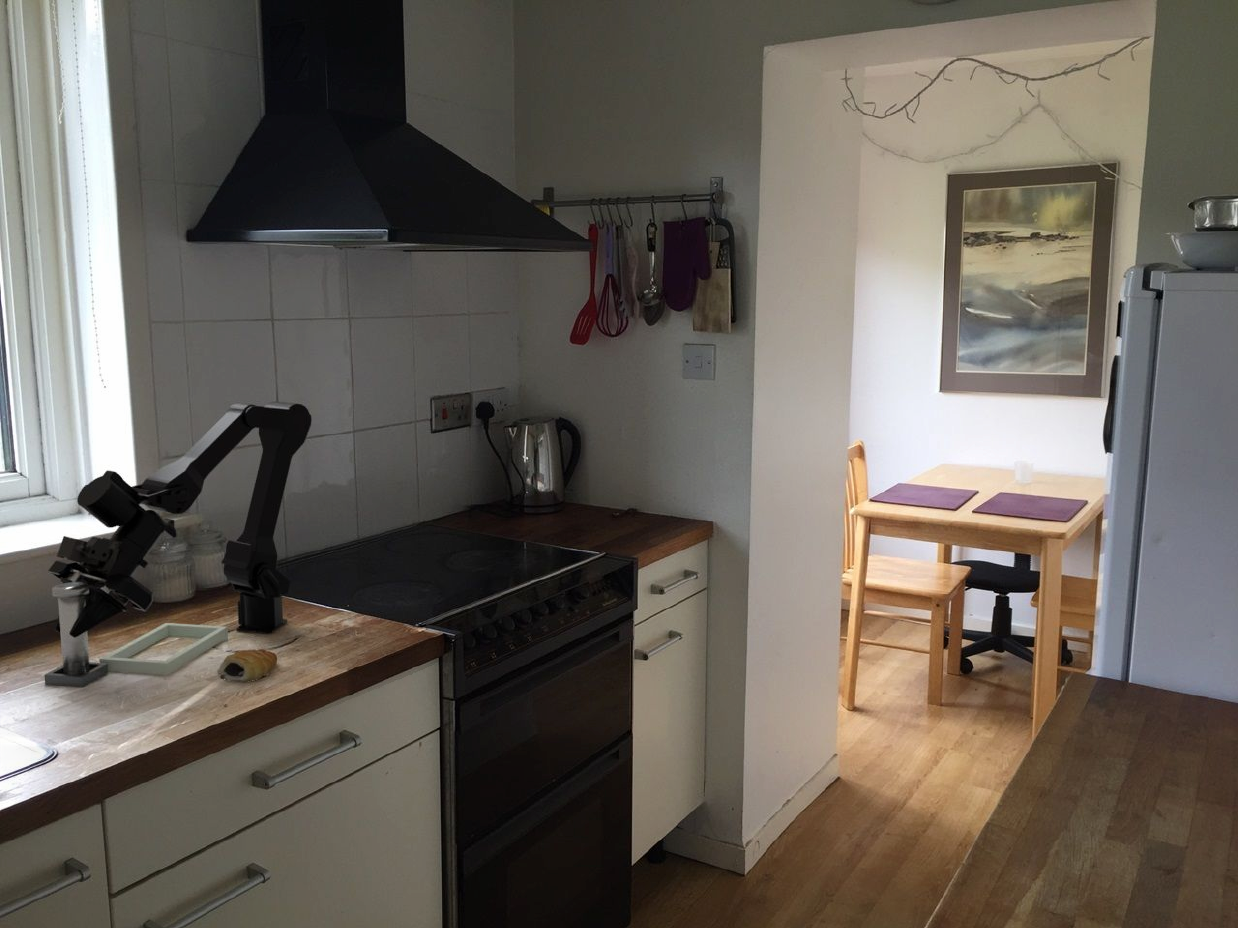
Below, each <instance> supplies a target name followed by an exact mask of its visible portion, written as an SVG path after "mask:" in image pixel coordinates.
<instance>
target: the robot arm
mask: <svg viewBox="0 0 1238 928" xmlns="http://www.w3.org/2000/svg"><path fill="white" fill-rule="evenodd" d="M311 426H312V414H310V412H309V409H308V408H307V407H306V406H305V405H303V404H302V403H295V402H294V403H293V402H284V401H271V402H269V403H267V404H266V405H264V406H262V405H260V406H259V405H255V404H251V403H242V402H241V403H240V402H237V403H234V404H232V405H231V406H229V407H228V409H227V412H226V413H225V414H224V415H223V416H222V417H221V418H220V419H219V420H218V421H217V422H216V423H215V424H214V425H213V426H212V427H211V428H210V429H209V430H208V431H207V432H206V433H205V434H204V435H203V436H202V437H201V438H200V439H199V440H198V441H197V442H195V444H194V445H193V446H191V448H189V450H187V452H185V454H184V455H183V456H181V457H180V458H178V459H177V460H176V461H173V462H170V463H168V464H166V465H164V466H162V467H160V468H159V469H158V470H156V471H154V472H153V473H152V474H151V475H149V476H147V477H146V478H145V480H144V481H143V482H142V483H140V484H136V485H133V486H131V485H130V484H129V483H127V481H125V480H124V478H123V477H122V476H121V475H120V474H119V473H118V472H117V471H114V470H108V469H107V470H106V471H105V472H104V473H103V474H102V476H101V475H100V476H98V477H97V478H95V479H92V480H91V481H90V482H89V483H88V484H85V485H84V486H83V487H82V489H81V490H80V491H79V493H78V496H77V499H76V500H77V504H78V506H80V507H81V508H82V509H83V510H84V511H86V512H88V513H89V514H90V515H91V516H92V517H94V518H95V519H96V520H97V521H99V522H100V523H101V524H103V525H104V526H105V527H107V528H109V529H110V528H111V529H112V528H116V527H117V529H116V530H115V531H114V532H113V534H112V535H111V536H110V538H107V537H103V538H101V537H96V536H91V537H90V539H89V540H88V541H85V540H82V539H78V538H75V537H74V538H73V537H69V536H65V535H63V537H62V540H61V542H60V546H59V549H58V551H57V554H56V557H57V558H61V559H57V560H55V561H54V562H53V564H52V565H51V567H50V568H48V573H49V574H51V575H52V576H53V577H55V578H57V579H58V580H59V581H60V583H61V584H64V583H71V582H84V583H88V584H89V593H88V594H86V595H85V607H84V609H83V610H82V612H81V614H80V615H79V617H78V618H77V620H76V622H75V623H74V625H73V627H72V629H71V631H70V633H69V634H70V635H71V636H72V637H74V638H76V637H78V636H79V635H81V634H83V633H84V632H86V631H87V632H88V631H89V630H91V629H93V628H95V627H96V626H98V625H99V624H101V623H103V622H105V621H107V620H108V619H110V618H114V617H115V616H116V615H118V614H120V613H122V612H127V611H128V610H129V608H128V607H127V606H126V605H127V604H128V602H129V601H130V603H132V607H133V608H134V609H135V610H137V611H138V610H139V611H142V612H145V613H146V612H147V610H148V609H149V608H150V606H151V605H152V604H153V602H154V594H153V592H152V591H151V590H149V589H148V588H147V587H146V586H145V585H143V583H141V582H139V581H138V580H137V579H136V578H134V577H133V575H134V574H135V572H137V570H138V568H141V569H146V567H147V566H148V564H149V563H148V561H147V560H145V558H147V556H148V554H149V553H150V551H151V550H152V549H153V548H154V546H155V545H156V543H157V541H158V540H160V537H161V536H164V537H168V538H173V539H174V538H177V529H176V527H175V520H174V519H171V518H163V517H162V516H161V515H160V514H159V513H158V512H162V513H167V514H172V515H180V514H184V513H187V511H188V510H190V508H191V507H192V506H193V505H194V503H195V502H196V500H198V497H199V496H200V495H201V493H202V491H203V487H204V484H205V483H204V482H205V481H206V479H207V477H208V476H209V475H210V474H211V473H212V472H213V471H214V470H215V468H217V466H219V465H220V463H221V462H222V461H224V459H226V457H227V456H228V455H229V454H230V453H231V452H232V451H233V450H234V449H235V448H236V447H237V446H238V445H239V444H240V443H241V442H242V441H243V440H244V439H245V438H246V437H247V436H248V435H249V434H250V433H251V432H252V431H253V430H254V429H256V428H257V429H258V435H259V438H260V443H261V447H262V453H261V458H260V461H259V466H258V470H257V474H256V480H255V483H254V488H253V491H252V495H251V499H250V503H249V508H248V512H247V515H246V521H245V525H244V528H243V532H242V534H241V535H240V536H239V537H237V539H236V540H232V539H229V540H228V541H227V543H226V544H225V545H226V546H225V547H226V548H225V553H224V557H223V558H222V560H221V562H220V563H221V564H223V575H224V576H225V577H226V580H227V581H229V582H230V584H231V587H232V589H233V591H234V592H237V593H238V592H239V600H238V601H237V616H238V617H237V621H238V625H239V626H237V627H235V629H236V631H237V632H246V633H247V632H248V633H263V634H264V633H265V634H271V633H274V632H275V631H277V630H278V629H280V628H281V627H283V626H284V625H285V624H287V623H288V619H286V618H284V613H283V612H284V609H283V595H286V594H288V592H289V588H290V584H291V581H290V580H289V579H288V578H287V577H286V576H285V575H283V573H282V572H280V571H279V570H278V569H277V568H278V567H277V566H278V557H279V556H278V552H277V548H276V544H275V540H274V539H275V538H274V536H275V531H276V527H277V523H278V519H279V515H280V511H281V506H282V502H283V498H284V493H285V489H286V485H287V480H288V478H289V477H288V476H289V473H290V468H291V464H292V460H293V457H294V455H295V454H296V453H297V451H298V450H299V449H300V448H301V447H302V446H303V445H304V444H305V443H306V440H307V437H308V434H309V431H310V429H311ZM141 505H143V506H146V507H147V508H148V509H147V510H146V509H145V508H143V507H142V506H141ZM156 511H157V512H156ZM65 558H66V559H65ZM54 631H56V632H57V633H60V620H59V615H58V616H57V619H56V623H55V625H54Z"/></svg>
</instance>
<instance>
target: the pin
mask: <svg viewBox="0 0 1238 928" xmlns="http://www.w3.org/2000/svg"><path fill="white" fill-rule="evenodd" d="M51 589H52V591H51V592H52V593H51V594H52V597H54V598H57V603H58V616H59V620H60V645H61V657H62V658H61V659H62V665H63V674H68V675H83V674H84V673H86V672H88V671H90V665H89V662H90V652H89V640H88V638H89V637H88V631H86V632H84V633H83V634H81V635H79V636H78V637H76V638H74V637H72V636H71V635H70V634H69V633H70V631H71V629H72V627H73V625H74V623H75V622H76V620H77V618H78V617H79V615H80V614H81V612H82V610H83V609H84V607H85V595H86V594H88V593H89V584H88V583H84V582H71V583H64V584H63V583H61V584H57V585H54V586H53V587H52V588H51Z"/></svg>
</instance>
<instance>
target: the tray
mask: <svg viewBox="0 0 1238 928" xmlns="http://www.w3.org/2000/svg"><path fill="white" fill-rule="evenodd" d="M228 628H229V627H228V626H221V625H219V626H218V625H204V624H189V623H172V622H165V623H163V624H161V625H159V626H158V627H155V628H154V629H151V630H150V631H148V632H146V633H145V634H143V635H141V636H139V637H137V638H135V639H133V640H131V641H130V642H129V643H126V644H124V645H122V646H121V647H119V648H117V649H115V650H114V651H111V652H110V653H108V654H106V655H104V656H102V657H100V658H99V660H98V661H99V663H108V672H122V673H123V672H124V673H136V674H137V673H138V674H150V675H151V674H152V675H165V676H168V675H170V674H171V673H174V672H175V671H176V670H178V669H179V668H182V666H184V665H186V664H188V663H189V662H191V661H192V660H194V659H195V658H197V657H198V656H200V655H202V654H203V653H205V652H207V651H208V650H209V649H211V648H213V647H214V646H216V645H217V644H219V643H221V642H228V641H229V632H228V631H229V630H228ZM165 638H171V639H172V638H173V639H189V640H197V641H196V642H193V643H192V644H191V645H188V646H187V647H186V648H184V649H182V650H180V651H179V652H177V653H175V654H174V655H172V656H171V657H169V658H167V659H165V660H158V659H140V658H131V657H133V656H134V655H137V654H138V653H140V652H141V651H143V650H145V649H147V648H148V647H149V648H150V647H151V646H152V645H154V644H155V643H157V642H159V641H161V640H163V639H165Z"/></svg>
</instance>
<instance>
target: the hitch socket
mask: <svg viewBox="0 0 1238 928" xmlns="http://www.w3.org/2000/svg"><path fill="white" fill-rule="evenodd" d="M89 665H90V671H88V672H86V673H84V674H83V675H68V674H63V664H62V665H60V666H59V667H56V668H54V669H53V670H50V671H48V672H47V673H45V674H44V685H45V686H53V687H55V686H56V687H67V688H68V687H69V688H70V687H71V688H81V689H82V688H85V687H87V686H88V685H91V683H94V682H95V681H97V680H99V679H101V678H102V677H104V676H106V675H108V674H109V671H108V663H100V662H94V661H93V662H92V661H89Z"/></svg>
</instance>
